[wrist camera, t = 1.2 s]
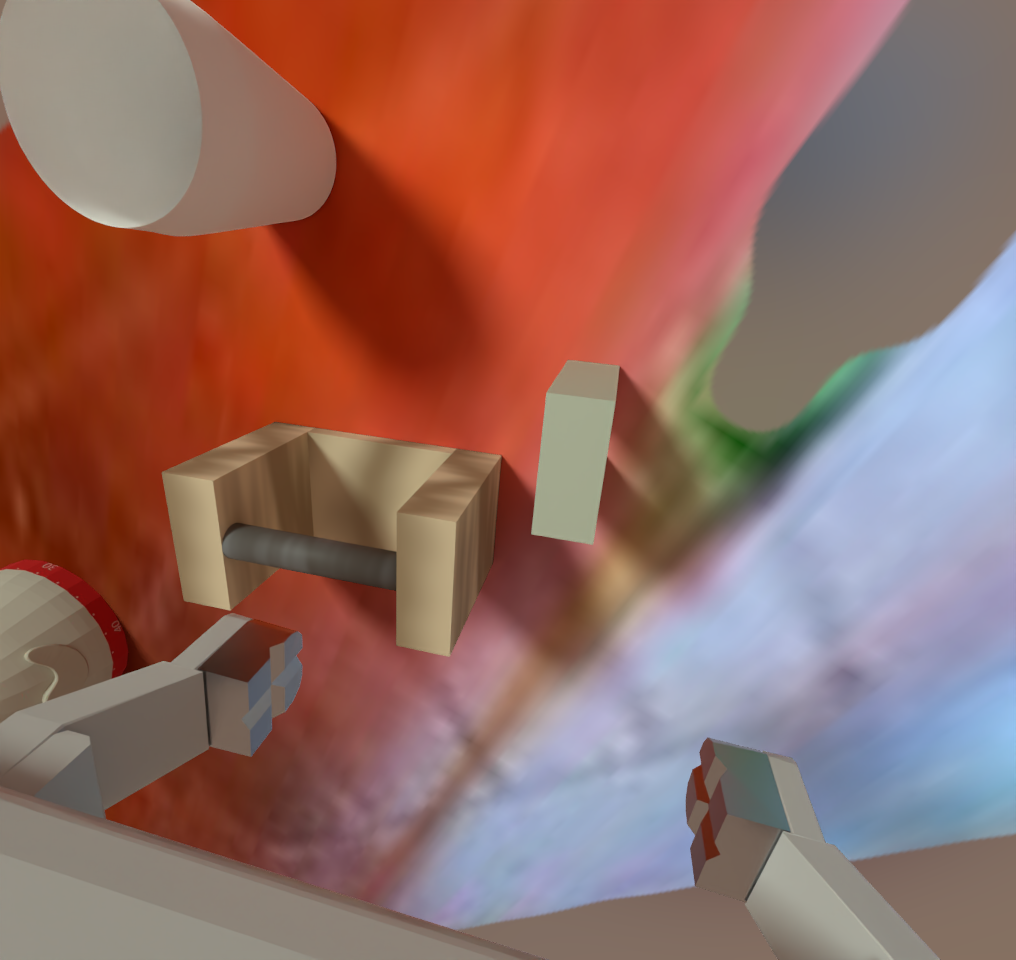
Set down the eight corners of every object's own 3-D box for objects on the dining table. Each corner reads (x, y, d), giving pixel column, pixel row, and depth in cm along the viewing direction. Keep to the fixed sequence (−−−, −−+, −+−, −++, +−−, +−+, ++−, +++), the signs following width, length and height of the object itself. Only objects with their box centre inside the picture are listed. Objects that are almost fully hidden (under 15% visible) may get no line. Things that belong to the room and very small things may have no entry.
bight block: (619, 365, 32) (615, 401, 23) (602, 477, 34) (593, 544, 26) (568, 359, 32) (546, 392, 24) (554, 470, 35) (531, 534, 27)
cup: (320, 273, 33) (168, 278, 22) (194, 188, 33) (-22, 150, 22) (383, 122, 30) (239, 40, 19) (242, 25, 29) (11, -118, 18)
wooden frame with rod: (501, 455, 35) (456, 522, 26) (492, 563, 38) (449, 656, 29) (275, 421, 38) (161, 472, 29) (283, 525, 41) (184, 600, 32)
